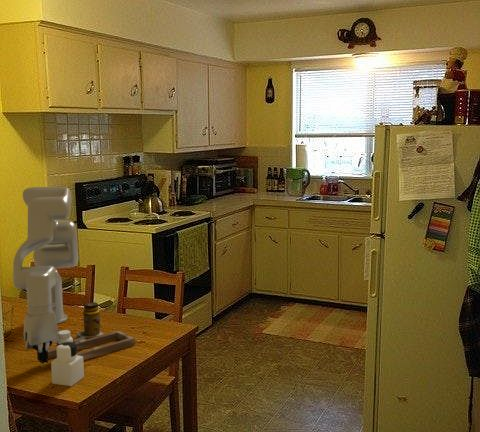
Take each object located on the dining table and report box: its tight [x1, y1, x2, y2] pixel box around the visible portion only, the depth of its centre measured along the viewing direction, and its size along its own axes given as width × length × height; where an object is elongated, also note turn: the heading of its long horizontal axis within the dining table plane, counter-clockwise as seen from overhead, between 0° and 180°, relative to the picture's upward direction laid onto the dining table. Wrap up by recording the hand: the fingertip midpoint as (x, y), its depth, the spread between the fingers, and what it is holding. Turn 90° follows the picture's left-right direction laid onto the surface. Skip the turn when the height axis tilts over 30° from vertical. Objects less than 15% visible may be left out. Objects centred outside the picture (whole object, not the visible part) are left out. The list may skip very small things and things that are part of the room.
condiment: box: [76, 301, 104, 339], centre depth 212 cm, size 7×8×12 cm
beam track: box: [47, 330, 136, 362], centre depth 197 cm, size 14×30×3 cm, turn 134°
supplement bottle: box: [55, 329, 74, 347], centre depth 189 cm, size 5×5×10 cm
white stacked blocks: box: [50, 342, 85, 387], centre depth 172 cm, size 7×7×12 cm
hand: (43, 361), depth 184 cm, fingers closed
